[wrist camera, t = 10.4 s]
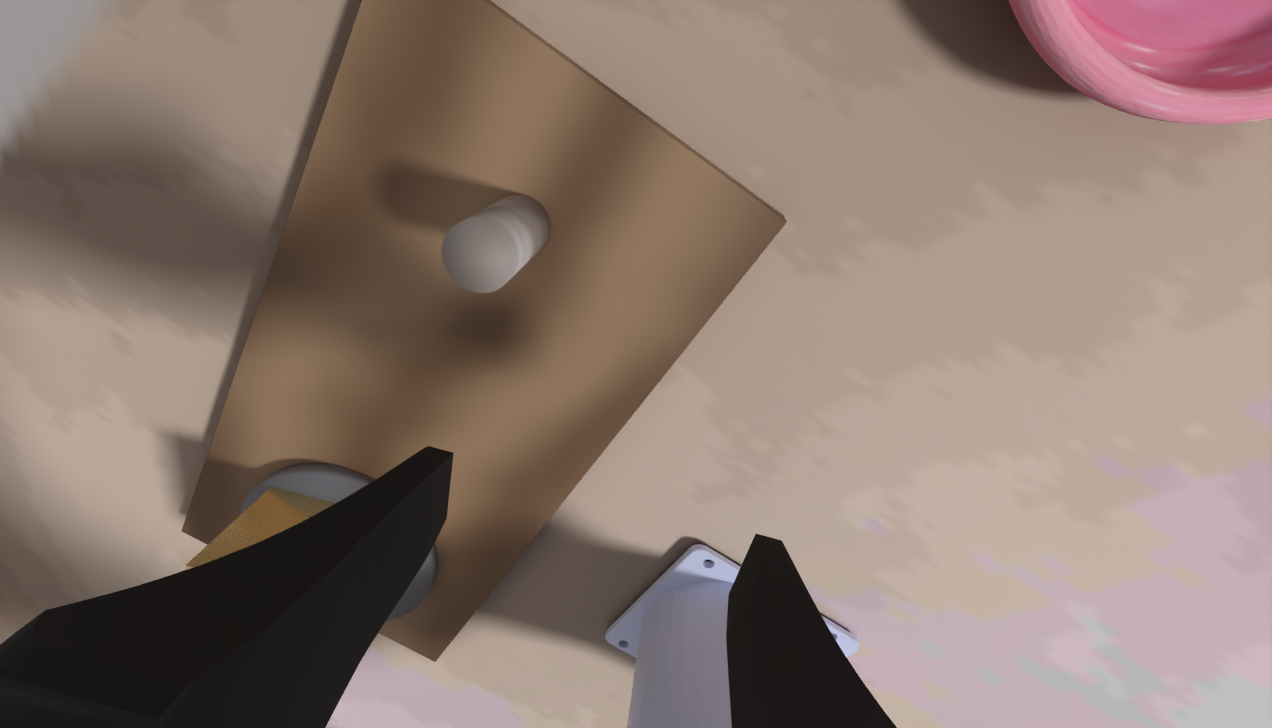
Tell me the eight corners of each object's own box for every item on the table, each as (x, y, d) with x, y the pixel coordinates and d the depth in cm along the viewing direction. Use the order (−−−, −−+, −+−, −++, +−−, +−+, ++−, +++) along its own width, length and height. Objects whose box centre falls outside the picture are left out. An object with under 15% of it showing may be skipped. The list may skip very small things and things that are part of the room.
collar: (397, 519, 24) (335, 605, 20) (392, 606, 27) (337, 697, 23) (271, 486, 24) (185, 565, 20) (279, 575, 27) (203, 661, 23)
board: (783, 215, 19) (806, 258, 14) (443, 644, 31) (395, 744, 26) (404, -64, 16) (283, -120, 12) (198, 517, 28) (98, 601, 24)
